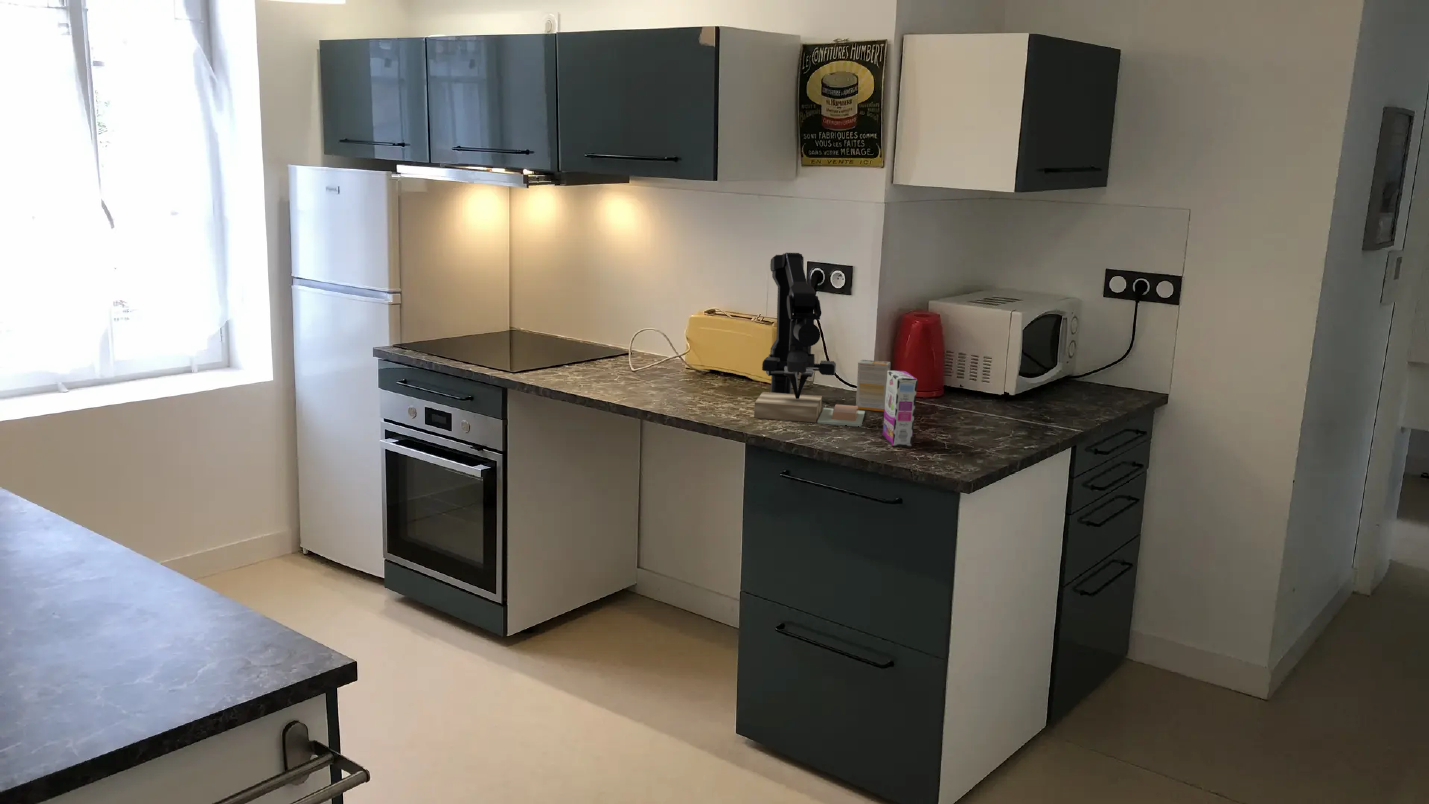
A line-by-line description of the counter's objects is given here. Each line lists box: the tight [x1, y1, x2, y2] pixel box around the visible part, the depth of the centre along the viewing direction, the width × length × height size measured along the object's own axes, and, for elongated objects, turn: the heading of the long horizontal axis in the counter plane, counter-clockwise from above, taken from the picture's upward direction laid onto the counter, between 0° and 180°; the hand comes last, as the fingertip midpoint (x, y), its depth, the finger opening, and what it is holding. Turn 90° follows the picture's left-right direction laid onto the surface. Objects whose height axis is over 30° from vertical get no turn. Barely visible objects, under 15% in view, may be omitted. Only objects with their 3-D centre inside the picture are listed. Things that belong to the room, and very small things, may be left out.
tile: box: [832, 404, 859, 421], centre depth 289 cm, size 9×6×2 cm, turn 169°
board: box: [753, 391, 823, 423], centre depth 292 cm, size 14×16×4 cm
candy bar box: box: [882, 370, 918, 447], centre depth 266 cm, size 11×5×16 cm, turn 5°
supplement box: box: [855, 359, 891, 413], centre depth 300 cm, size 8×5×13 cm, turn 71°
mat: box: [817, 407, 866, 428], centre depth 290 cm, size 16×11×1 cm
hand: (797, 398), depth 291 cm, fingers closed
